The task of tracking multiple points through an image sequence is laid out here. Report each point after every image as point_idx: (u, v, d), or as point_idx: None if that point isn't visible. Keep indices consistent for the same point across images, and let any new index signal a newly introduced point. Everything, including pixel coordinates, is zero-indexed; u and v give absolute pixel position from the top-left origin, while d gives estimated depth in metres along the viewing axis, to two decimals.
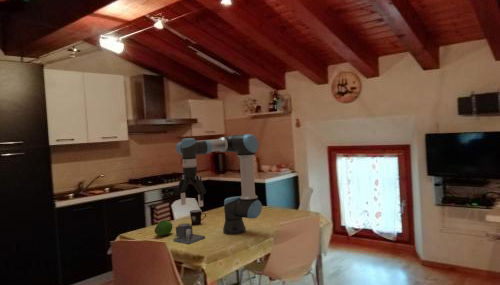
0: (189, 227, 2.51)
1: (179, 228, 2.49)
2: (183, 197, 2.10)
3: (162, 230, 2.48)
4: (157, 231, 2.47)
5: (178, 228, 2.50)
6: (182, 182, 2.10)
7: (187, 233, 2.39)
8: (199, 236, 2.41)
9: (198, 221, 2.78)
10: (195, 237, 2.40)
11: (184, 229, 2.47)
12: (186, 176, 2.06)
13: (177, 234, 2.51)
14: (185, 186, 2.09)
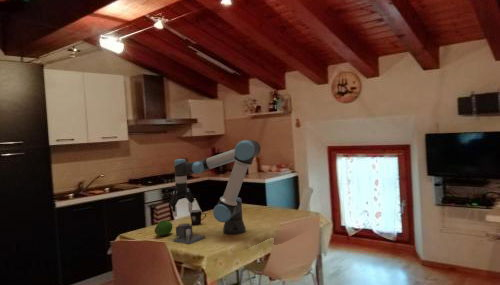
0: (189, 227, 2.51)
1: (179, 228, 2.49)
2: (189, 206, 2.57)
3: (162, 230, 2.48)
4: (157, 231, 2.47)
5: (178, 228, 2.50)
6: (189, 194, 2.57)
7: (187, 233, 2.39)
8: (199, 236, 2.41)
9: (198, 221, 2.78)
10: (195, 237, 2.40)
11: (184, 229, 2.47)
12: None
13: (177, 234, 2.51)
14: (186, 197, 2.55)
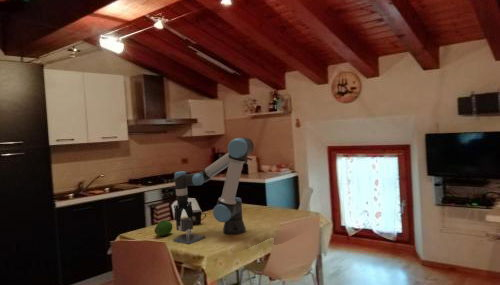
0: (189, 221, 2.51)
1: None
2: None
3: (162, 230, 2.48)
4: (157, 231, 2.47)
5: None
6: (189, 207, 2.56)
7: (187, 233, 2.39)
8: (199, 236, 2.41)
9: (198, 221, 2.78)
10: (195, 237, 2.40)
11: (184, 223, 2.47)
12: None
13: (177, 228, 2.51)
14: (186, 211, 2.54)
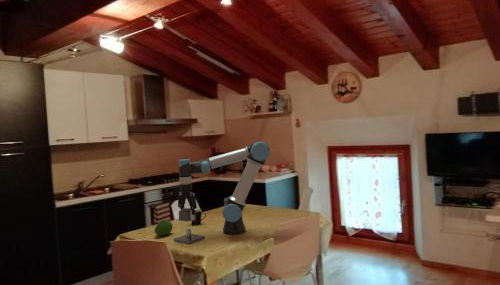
0: None
1: None
2: None
3: (162, 230, 2.48)
4: (157, 231, 2.47)
5: None
6: (180, 198, 2.43)
7: (187, 233, 2.39)
8: (199, 236, 2.41)
9: (198, 221, 2.78)
10: (195, 237, 2.40)
11: None
12: (182, 191, 2.40)
13: (188, 219, 2.36)
14: (183, 201, 2.42)
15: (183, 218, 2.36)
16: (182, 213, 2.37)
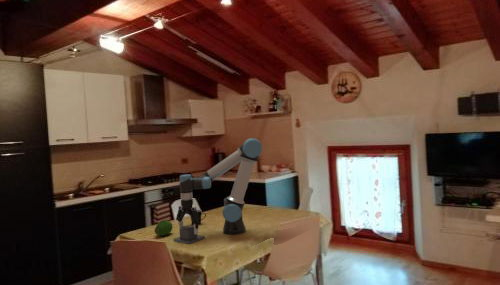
0: None
1: (192, 229, 2.38)
2: (181, 225, 2.44)
3: (162, 230, 2.48)
4: (157, 231, 2.47)
5: (190, 230, 2.37)
6: (180, 212, 2.44)
7: None
8: (199, 236, 2.41)
9: None
10: (195, 237, 2.40)
11: None
12: (183, 207, 2.40)
13: (189, 237, 2.36)
14: (183, 215, 2.43)
15: (184, 237, 2.37)
16: (183, 231, 2.37)
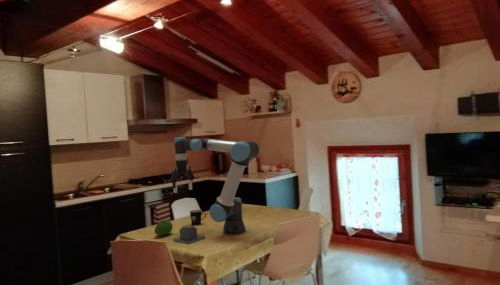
0: None
1: (192, 229, 2.38)
2: (189, 183, 2.61)
3: (162, 230, 2.48)
4: (157, 231, 2.47)
5: (190, 230, 2.37)
6: (189, 171, 2.61)
7: None
8: (199, 236, 2.41)
9: (198, 221, 2.78)
10: (195, 237, 2.40)
11: None
12: None
13: (189, 237, 2.36)
14: (187, 175, 2.59)
15: (184, 237, 2.37)
16: (183, 231, 2.37)
